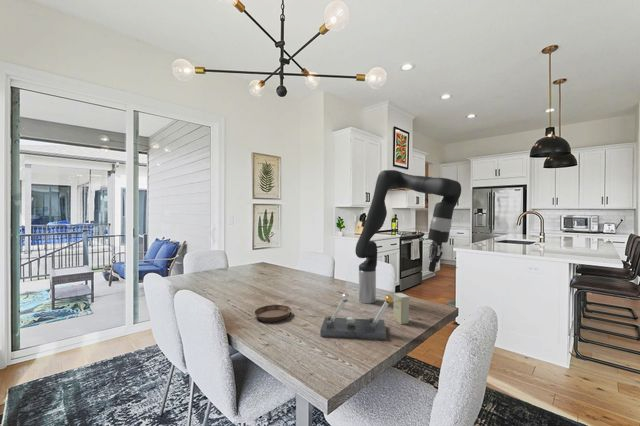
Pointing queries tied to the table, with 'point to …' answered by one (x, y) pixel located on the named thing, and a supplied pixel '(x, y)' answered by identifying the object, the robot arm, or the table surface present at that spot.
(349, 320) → the push button
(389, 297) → the lever handle
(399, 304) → the skincare box
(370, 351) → the table surface
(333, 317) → the white lever
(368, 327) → the switch panel
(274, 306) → the plant saucer
